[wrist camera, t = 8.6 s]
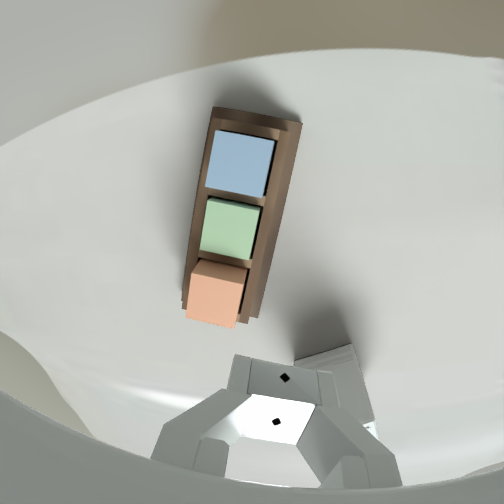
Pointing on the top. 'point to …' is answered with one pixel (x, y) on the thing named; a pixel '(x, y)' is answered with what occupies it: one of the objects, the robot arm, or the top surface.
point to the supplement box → (345, 382)
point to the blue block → (239, 163)
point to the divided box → (247, 201)
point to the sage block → (229, 227)
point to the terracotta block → (215, 292)
